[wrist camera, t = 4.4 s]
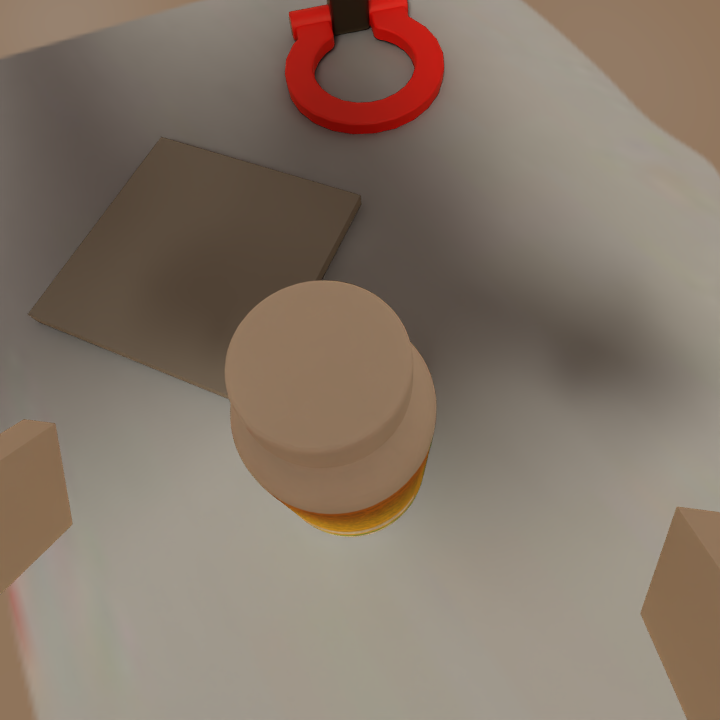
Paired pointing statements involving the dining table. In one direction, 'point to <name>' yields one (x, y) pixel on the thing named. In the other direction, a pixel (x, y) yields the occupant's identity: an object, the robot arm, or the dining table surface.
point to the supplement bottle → (331, 405)
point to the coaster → (193, 258)
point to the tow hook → (388, 22)
